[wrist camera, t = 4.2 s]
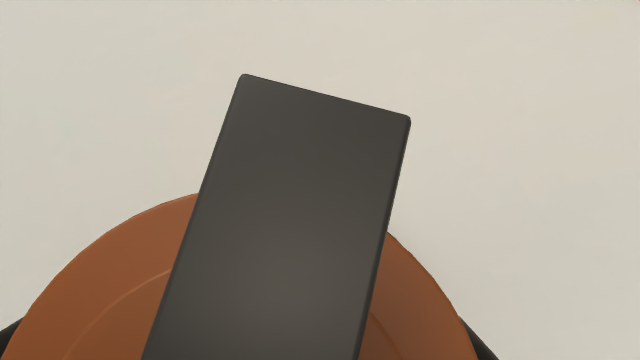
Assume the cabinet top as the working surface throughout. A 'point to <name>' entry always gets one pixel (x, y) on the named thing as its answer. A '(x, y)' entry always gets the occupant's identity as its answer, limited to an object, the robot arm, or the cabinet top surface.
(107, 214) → the cabinet top surface
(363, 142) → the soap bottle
